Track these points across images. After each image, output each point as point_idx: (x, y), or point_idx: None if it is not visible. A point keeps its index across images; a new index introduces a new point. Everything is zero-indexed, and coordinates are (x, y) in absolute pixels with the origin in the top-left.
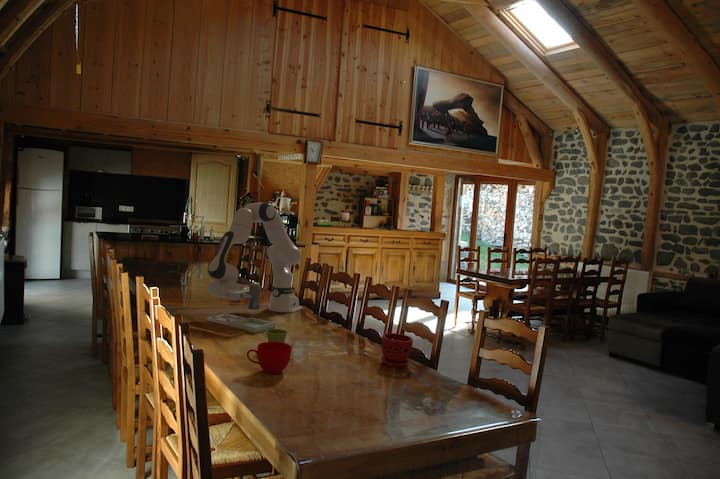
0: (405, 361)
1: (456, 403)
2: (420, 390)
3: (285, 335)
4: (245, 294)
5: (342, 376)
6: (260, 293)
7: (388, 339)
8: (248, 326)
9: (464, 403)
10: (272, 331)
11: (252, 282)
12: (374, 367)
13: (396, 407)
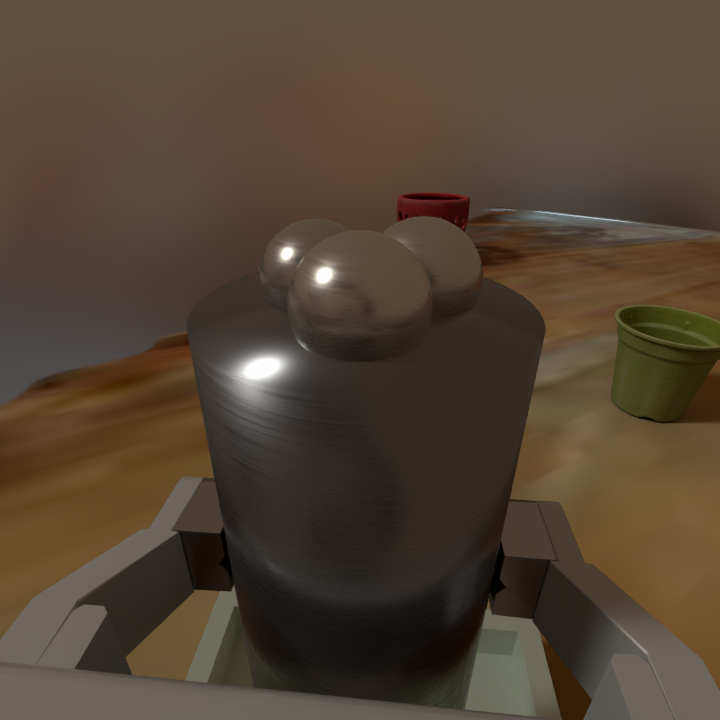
0: None
1: (533, 224)
2: (530, 237)
3: (641, 316)
4: (649, 619)
5: (604, 279)
6: (204, 478)
7: (469, 199)
8: (559, 713)
9: (524, 222)
10: (669, 351)
11: (399, 266)
12: (487, 268)
13: (627, 240)
